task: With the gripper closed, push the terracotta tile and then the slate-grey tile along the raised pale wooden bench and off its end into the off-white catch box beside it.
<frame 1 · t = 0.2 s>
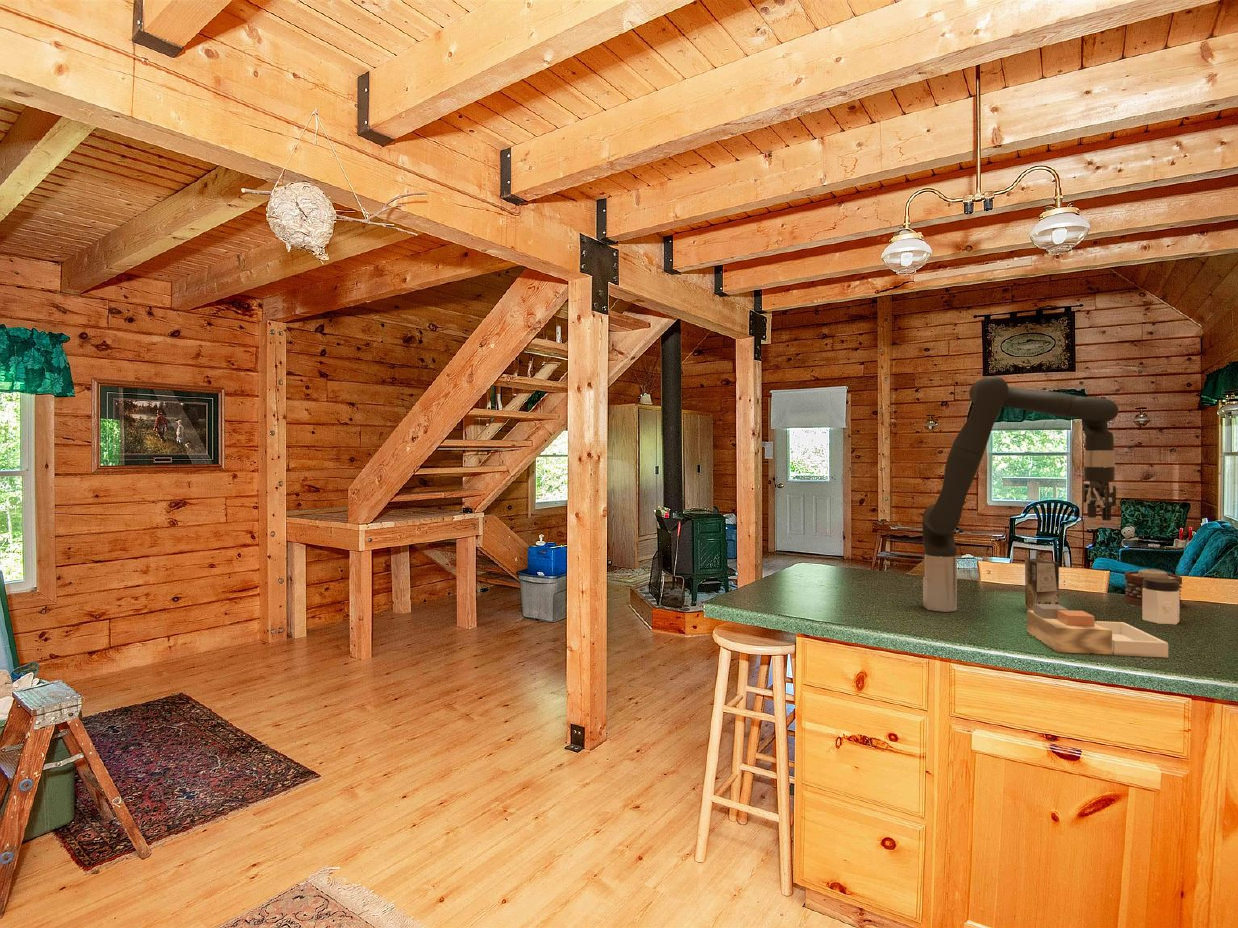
hand: (1099, 518, 202), 29 cm above the table, tool pointing down, fingers open, 8 cm apart
coffee box: (1041, 612, 206), on the table
slate tile: (1050, 615, 177), point 6 cm above the table, touching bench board
terracotta tile: (1075, 622, 170), point 6 cm above the table, touching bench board
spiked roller: (1152, 604, 215), on the table
jar: (1160, 621, 194), on the table
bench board: (1067, 642, 173), on the table
catch box: (1119, 644, 171), on the table
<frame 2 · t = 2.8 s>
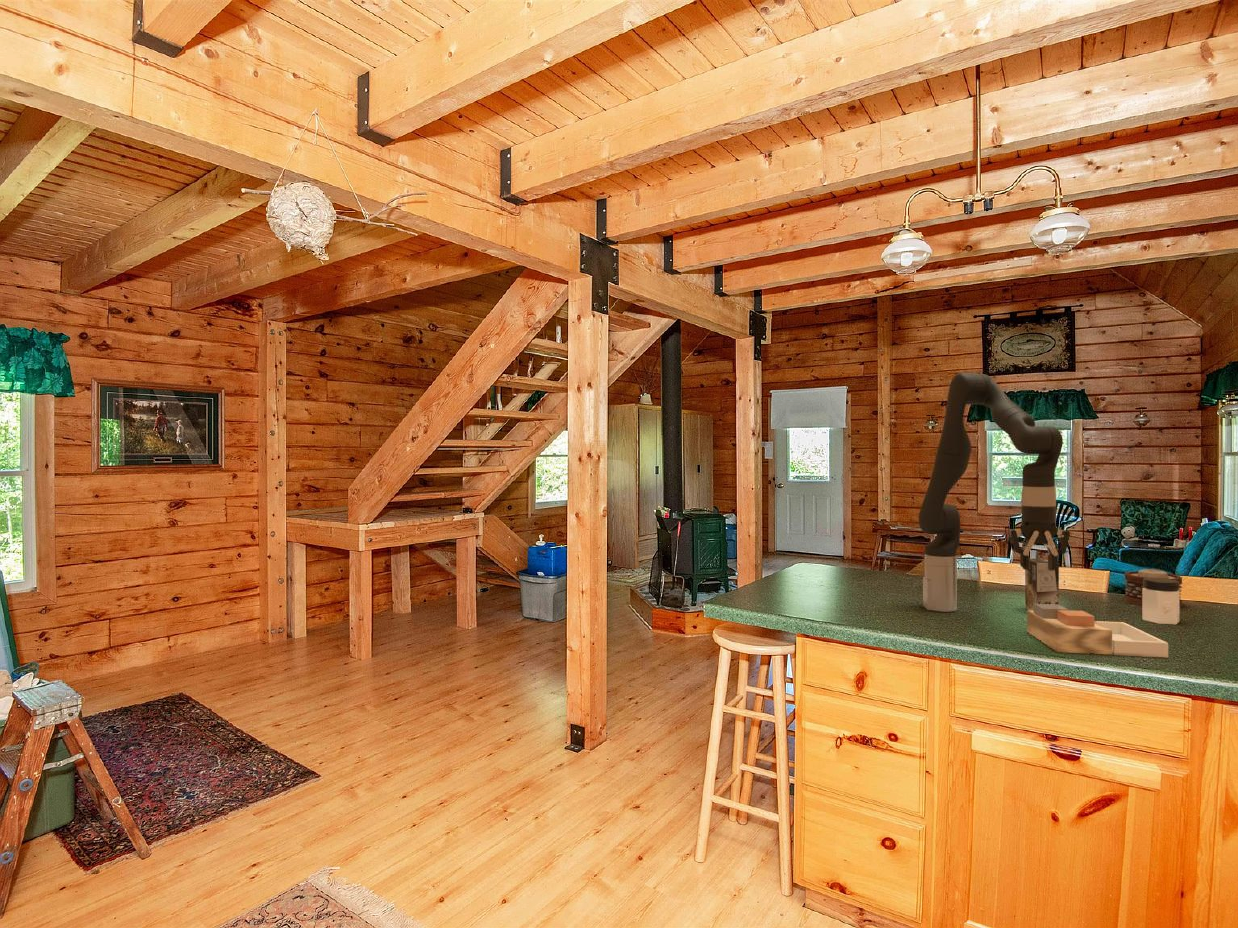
hand: (1038, 569, 171), 19 cm above the table, tool pointing down, fingers open, 5 cm apart
nothing on the table moved.
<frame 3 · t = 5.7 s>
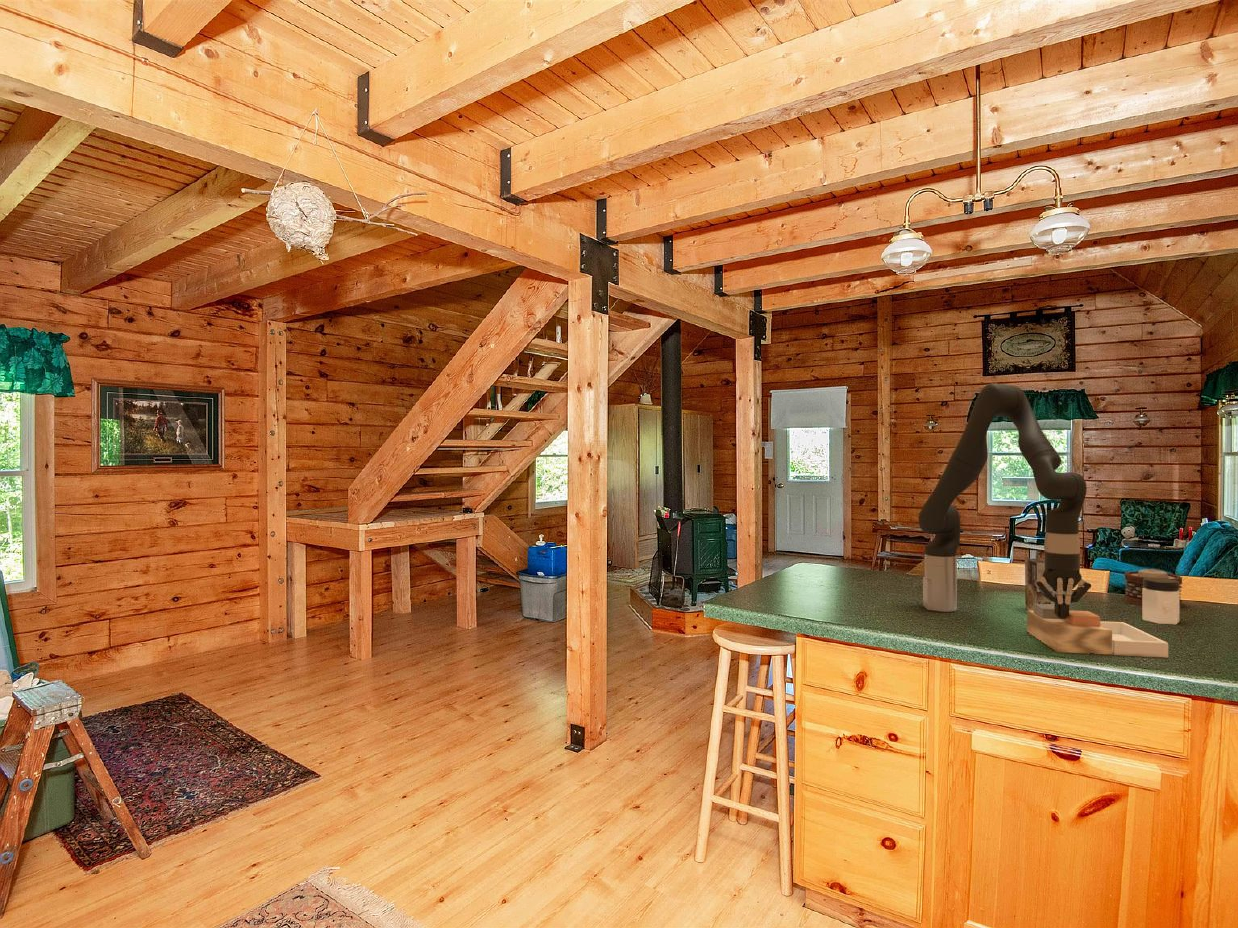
hand: (1061, 618, 170), 7 cm above the table, tool pointing down, fingers closed
terracotta tile: (1081, 623, 170), point 6 cm above the table, touching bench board, gripper
everything else where it was.
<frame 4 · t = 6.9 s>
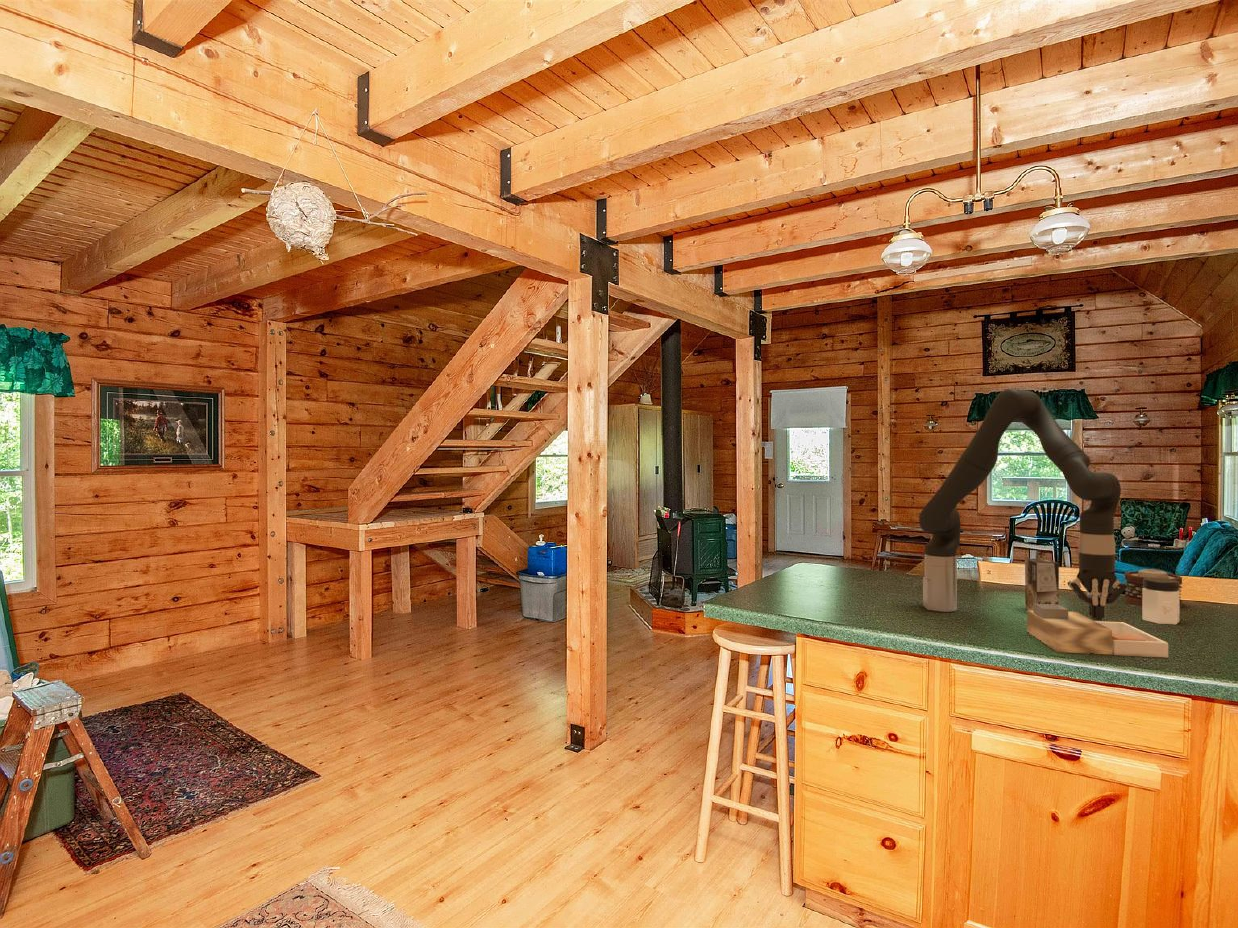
hand: (1096, 619, 169), 7 cm above the table, tool pointing down, fingers closed
terracotta tile: (1124, 636, 168), point 3 cm above the table, tilted 180°, touching catch box
everything else where it was.
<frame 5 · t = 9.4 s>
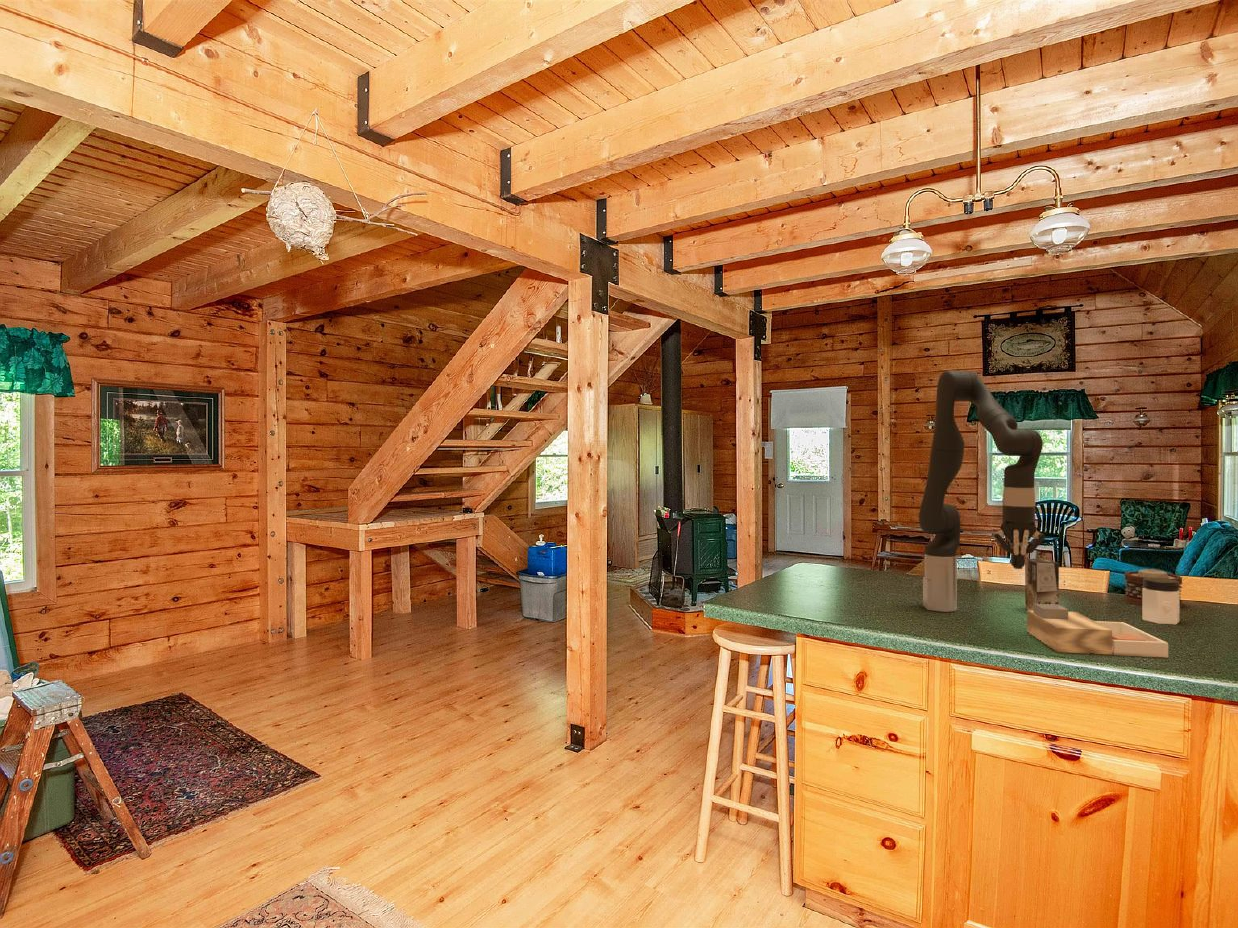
hand: (1017, 568, 179), 18 cm above the table, tool pointing down, fingers closed
nothing on the table moved.
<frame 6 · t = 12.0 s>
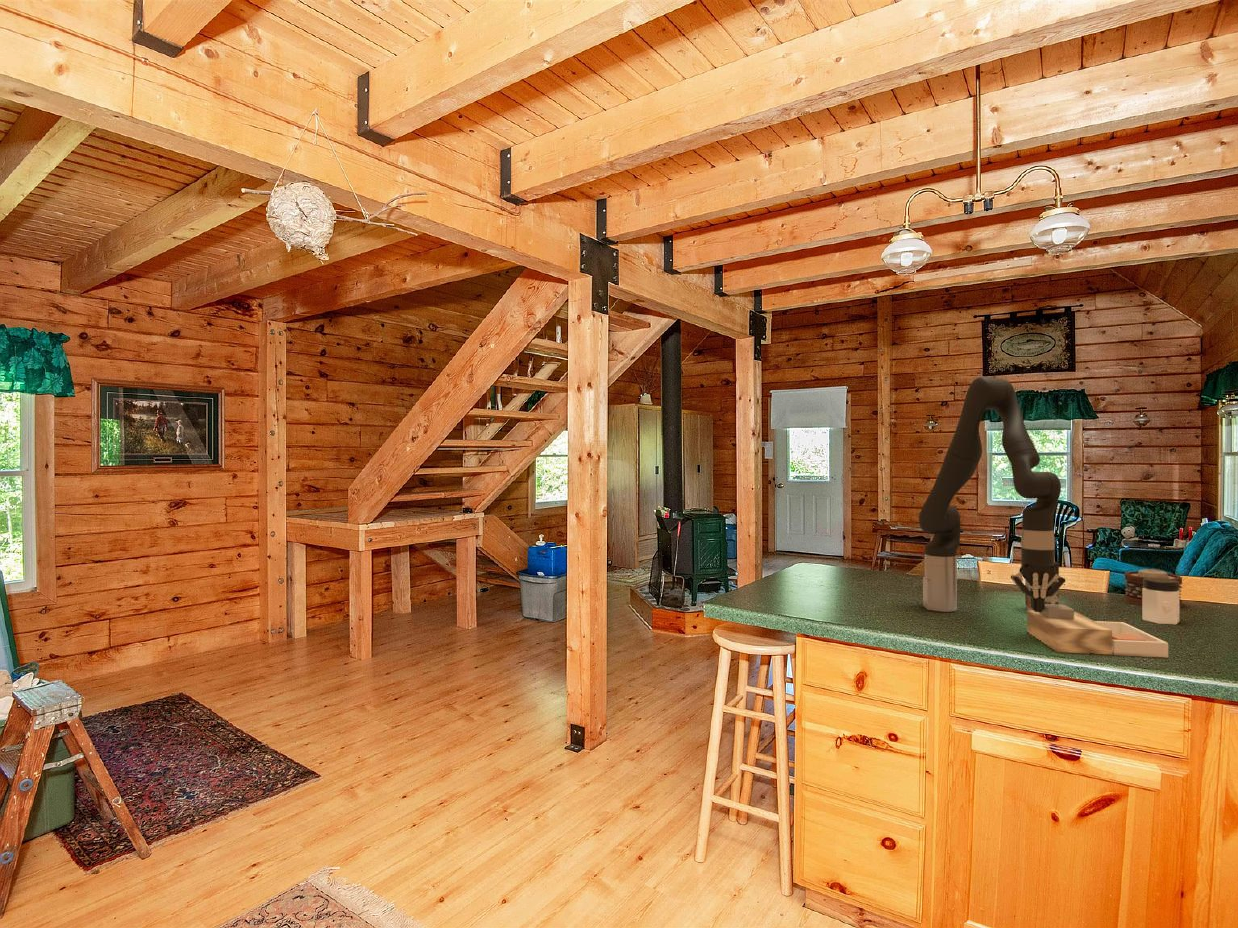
hand: (1037, 611, 178), 7 cm above the table, tool pointing down, fingers closed
slate tile: (1056, 616, 177), point 6 cm above the table, touching gripper
everything else where it was.
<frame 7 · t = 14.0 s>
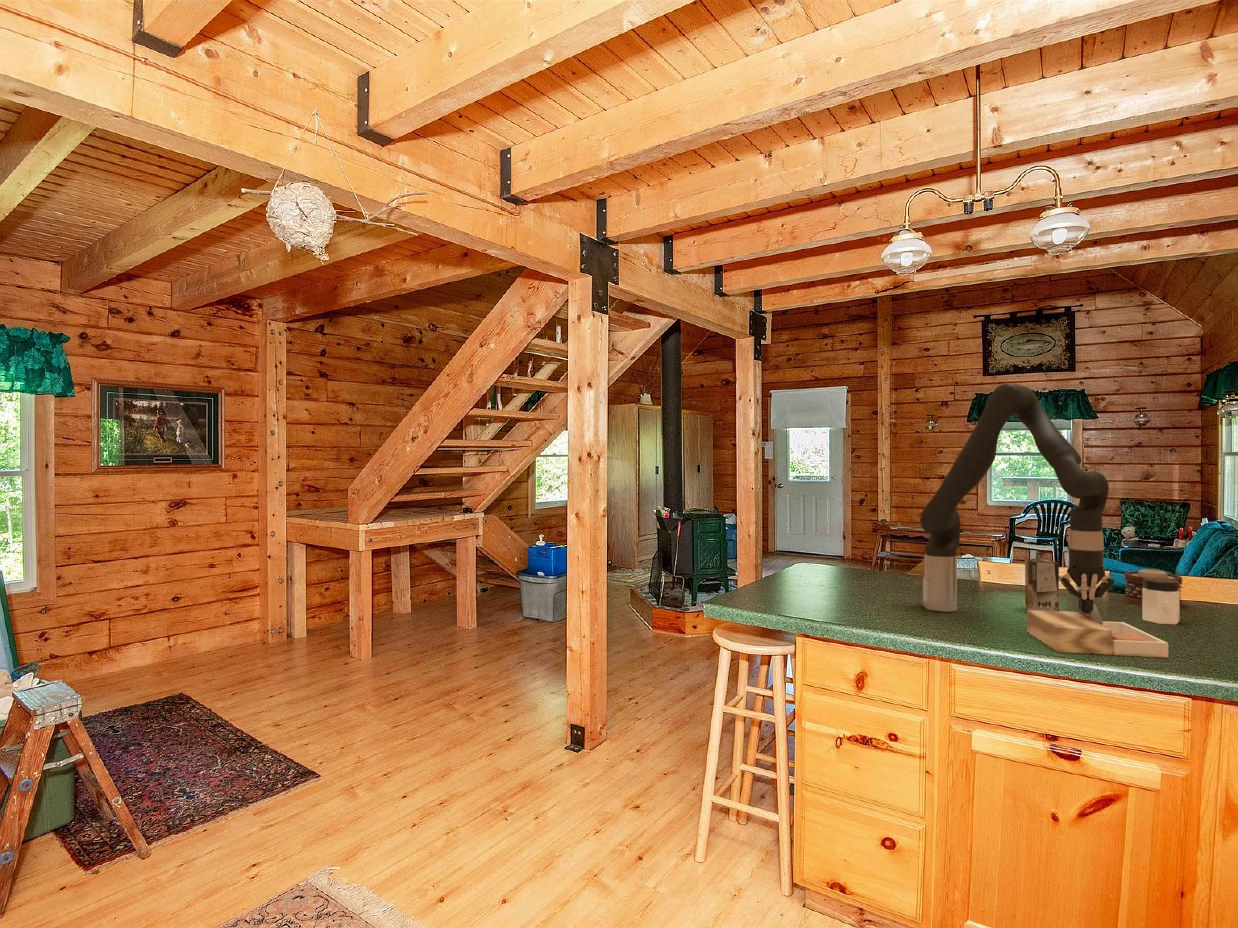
hand: (1085, 612, 175), 7 cm above the table, tool pointing down, fingers closed
slate tile: (1084, 619, 178), point 5 cm above the table, tilted 92°, touching catch box, gripper
everything else where it was.
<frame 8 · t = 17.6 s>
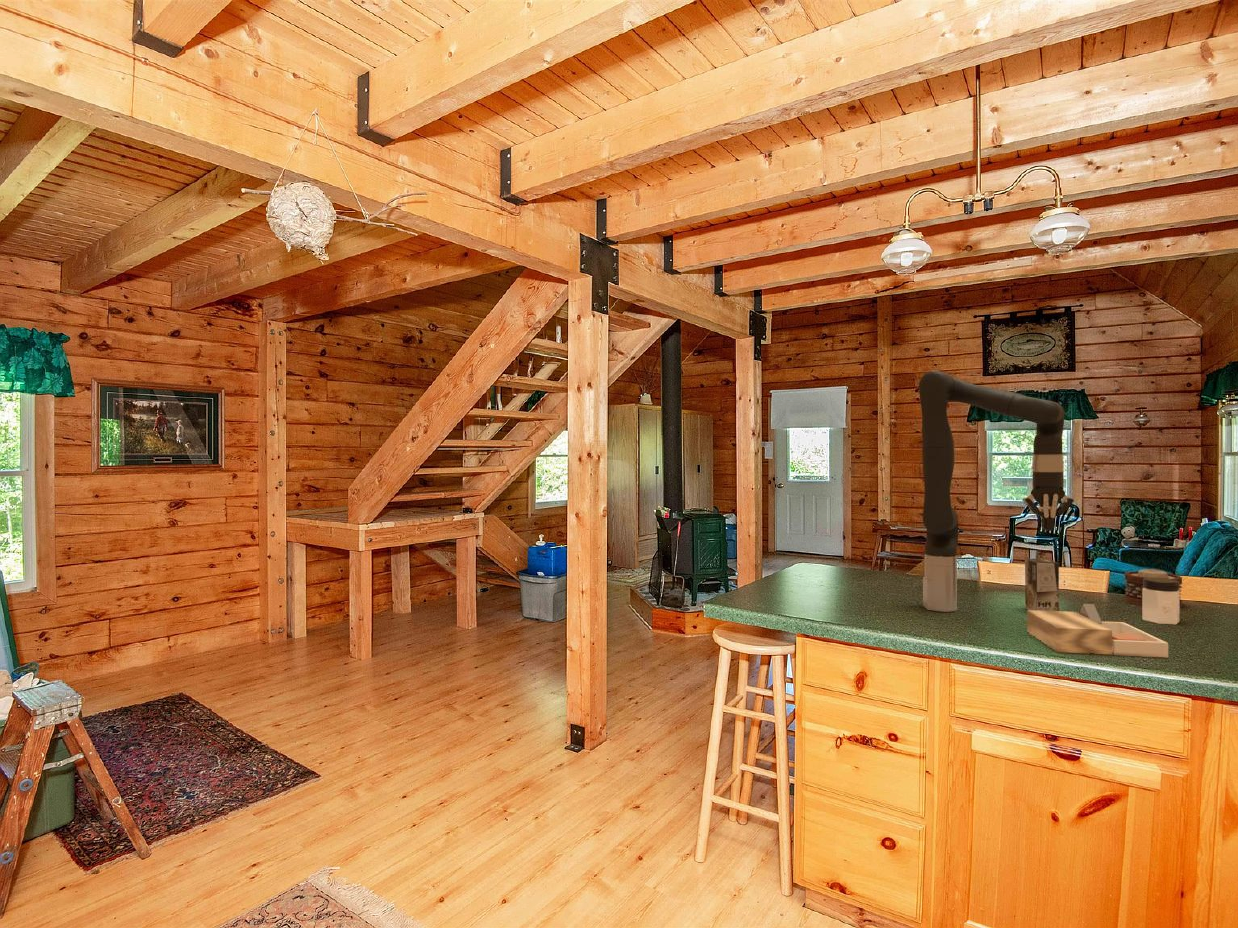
hand: (1047, 530, 191), 27 cm above the table, tool pointing down, fingers closed
slate tile: (1084, 619, 178), point 5 cm above the table, tilted 90°, touching catch box
everything else where it was.
at the end: terracotta tile inside the target area (3.1 cm from its centre), point 3.0 cm above the table; slate tile inside the target area (7.3 cm from its centre), point 4.7 cm above the table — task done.
